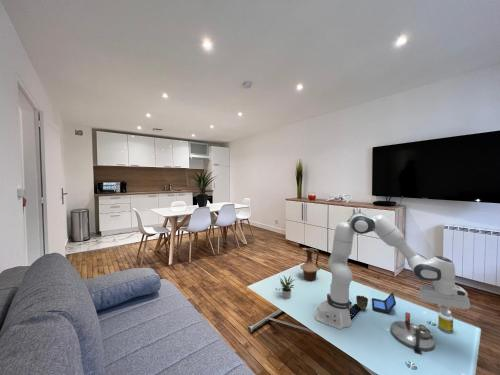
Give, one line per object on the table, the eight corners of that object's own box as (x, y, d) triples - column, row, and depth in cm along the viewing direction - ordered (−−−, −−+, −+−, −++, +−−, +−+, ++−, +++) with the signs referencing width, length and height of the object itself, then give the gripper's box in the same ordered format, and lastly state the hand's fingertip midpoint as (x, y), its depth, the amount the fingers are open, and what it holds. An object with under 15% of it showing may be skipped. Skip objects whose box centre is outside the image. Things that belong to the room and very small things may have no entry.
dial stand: (414, 352, 109) (414, 330, 109) (410, 342, 116) (410, 321, 116) (422, 355, 108) (422, 332, 107) (417, 344, 115) (418, 323, 114)
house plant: (296, 292, 169) (296, 272, 168) (298, 302, 155) (298, 281, 155) (278, 291, 170) (278, 272, 170) (279, 301, 157) (279, 280, 156)
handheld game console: (371, 299, 158) (371, 287, 157) (393, 304, 151) (393, 291, 151) (372, 311, 144) (372, 298, 144) (396, 317, 138) (396, 303, 137)
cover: (416, 337, 116) (416, 328, 116) (413, 329, 122) (412, 320, 122) (432, 341, 113) (432, 332, 113) (428, 332, 119) (427, 323, 119)
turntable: (394, 342, 115) (394, 328, 115) (388, 320, 133) (388, 308, 132) (440, 354, 107) (441, 339, 106) (427, 328, 125) (427, 316, 124)
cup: (357, 304, 151) (357, 293, 151) (368, 308, 147) (369, 297, 146) (354, 309, 146) (354, 298, 145) (366, 313, 141) (366, 302, 141)
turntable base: (394, 344, 115) (394, 343, 115) (387, 321, 133) (387, 320, 133) (441, 356, 107) (441, 355, 107) (427, 330, 125) (427, 329, 125)
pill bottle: (449, 335, 121) (449, 315, 120) (435, 327, 127) (436, 309, 126) (455, 331, 123) (455, 312, 123) (441, 324, 129) (442, 306, 129)
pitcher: (321, 276, 196) (320, 246, 195) (319, 284, 181) (319, 252, 179) (302, 273, 203) (301, 244, 202) (298, 281, 188) (298, 250, 187)
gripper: (421, 286, 114) (421, 311, 115) (472, 294, 106) (471, 320, 106) (417, 281, 120) (417, 304, 121) (465, 288, 112) (465, 313, 112)
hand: (443, 312), depth 113 cm, fingers closed
